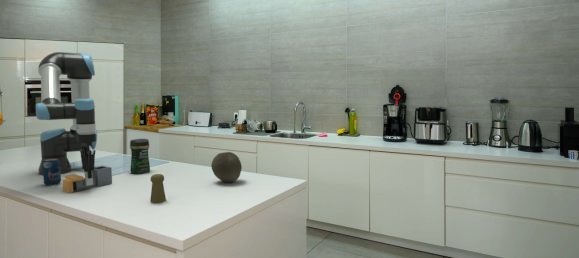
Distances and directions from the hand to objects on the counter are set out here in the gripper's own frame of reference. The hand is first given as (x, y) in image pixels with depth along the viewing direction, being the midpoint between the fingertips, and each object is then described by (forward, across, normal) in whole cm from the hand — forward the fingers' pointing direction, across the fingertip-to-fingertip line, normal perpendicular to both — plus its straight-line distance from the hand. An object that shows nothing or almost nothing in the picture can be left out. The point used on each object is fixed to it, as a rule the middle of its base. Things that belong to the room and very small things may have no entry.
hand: (89, 184), depth 164 cm
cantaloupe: (+2, +36, +50) cm, 62 cm away
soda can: (+2, -22, -9) cm, 24 cm away
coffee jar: (+2, -16, +31) cm, 35 cm away
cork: (+2, +39, +13) cm, 41 cm away
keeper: (+2, -2, -6) cm, 7 cm away
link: (+2, -4, +2) cm, 5 cm away
